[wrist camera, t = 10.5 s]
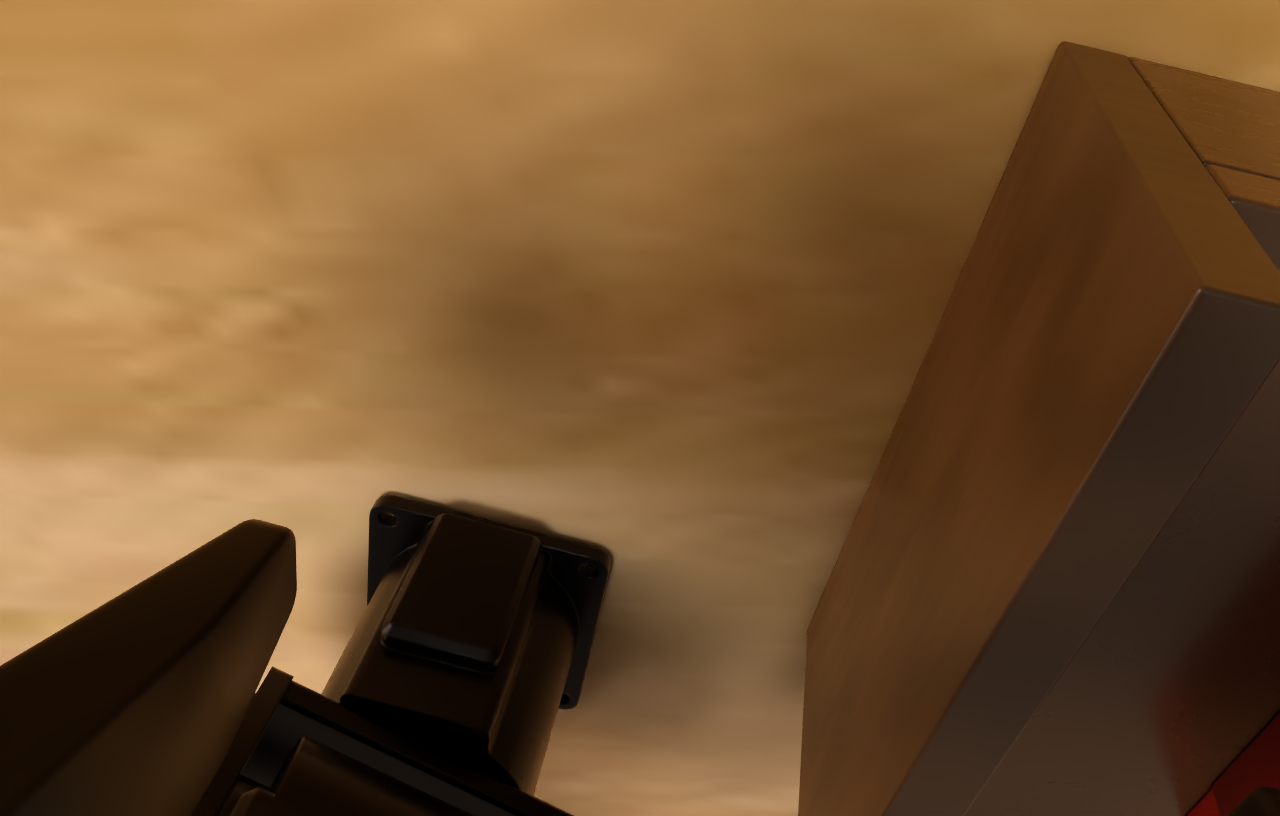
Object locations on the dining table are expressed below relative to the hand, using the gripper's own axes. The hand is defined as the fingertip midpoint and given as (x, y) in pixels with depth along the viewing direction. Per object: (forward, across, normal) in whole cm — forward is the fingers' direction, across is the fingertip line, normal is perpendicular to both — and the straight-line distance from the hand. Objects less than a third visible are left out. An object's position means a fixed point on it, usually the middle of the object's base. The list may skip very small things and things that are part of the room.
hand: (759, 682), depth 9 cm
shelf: (+13, -11, +5) cm, 18 cm away
